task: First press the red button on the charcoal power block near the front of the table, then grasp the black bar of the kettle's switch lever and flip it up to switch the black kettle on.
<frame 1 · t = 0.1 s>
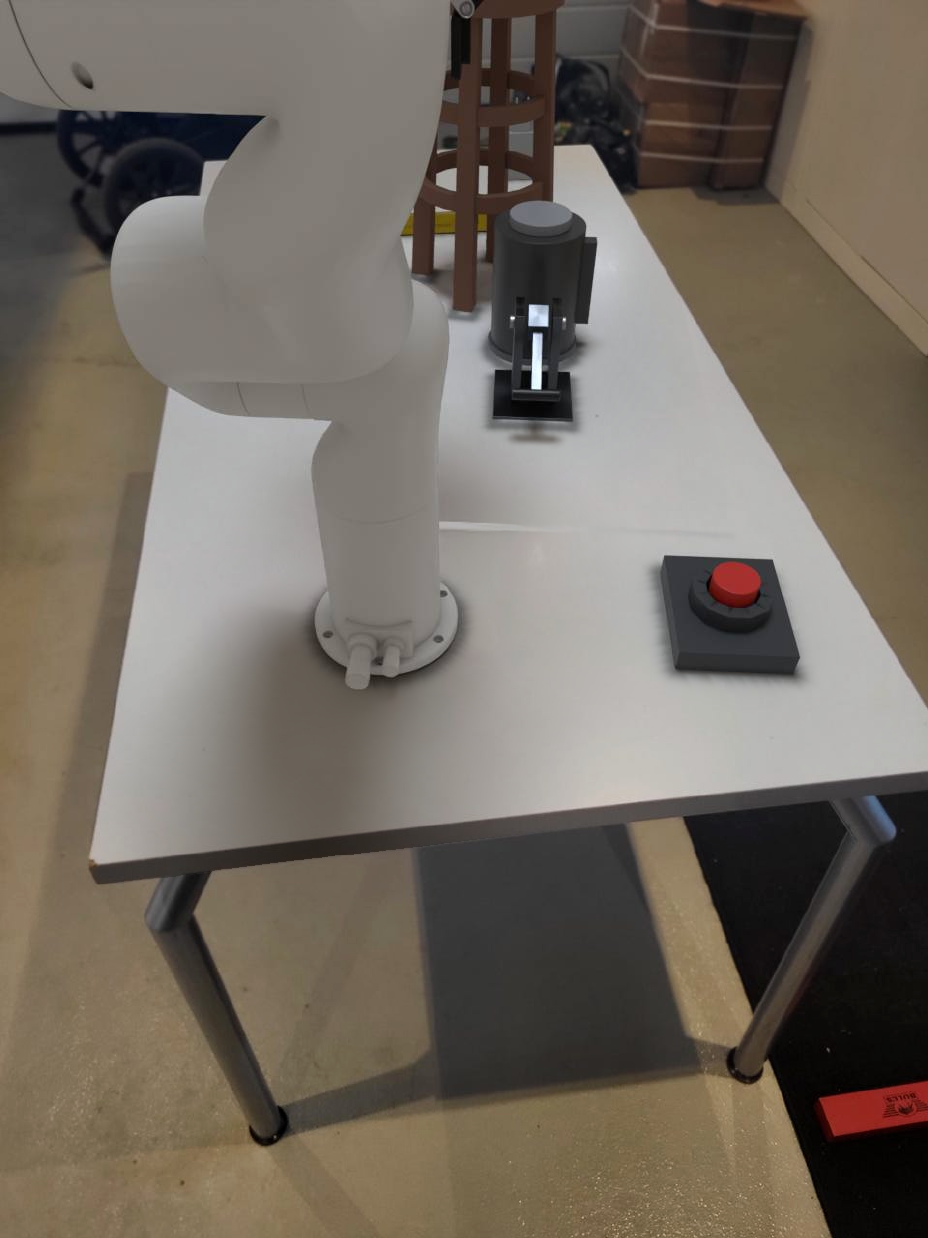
hand: (394, 72, 68), 37 cm above the table, tool pointing down, fingers open, 9 cm apart
power button: (734, 584, 76), point 4 cm above the table, slide at 0.1 cm
spirit level: (379, 236, 134), on the table
switch bracket: (531, 402, 103), on the table
power block: (723, 620, 79), on the table
kettle switch: (537, 354, 94), point 8 cm above the table, hinge at -25.0°
kettle: (531, 349, 111), on the table
stool: (480, 285, 123), on the table
electric trimmer: (340, 378, 106), on the table
power adapter: (518, 176, 150), on the table
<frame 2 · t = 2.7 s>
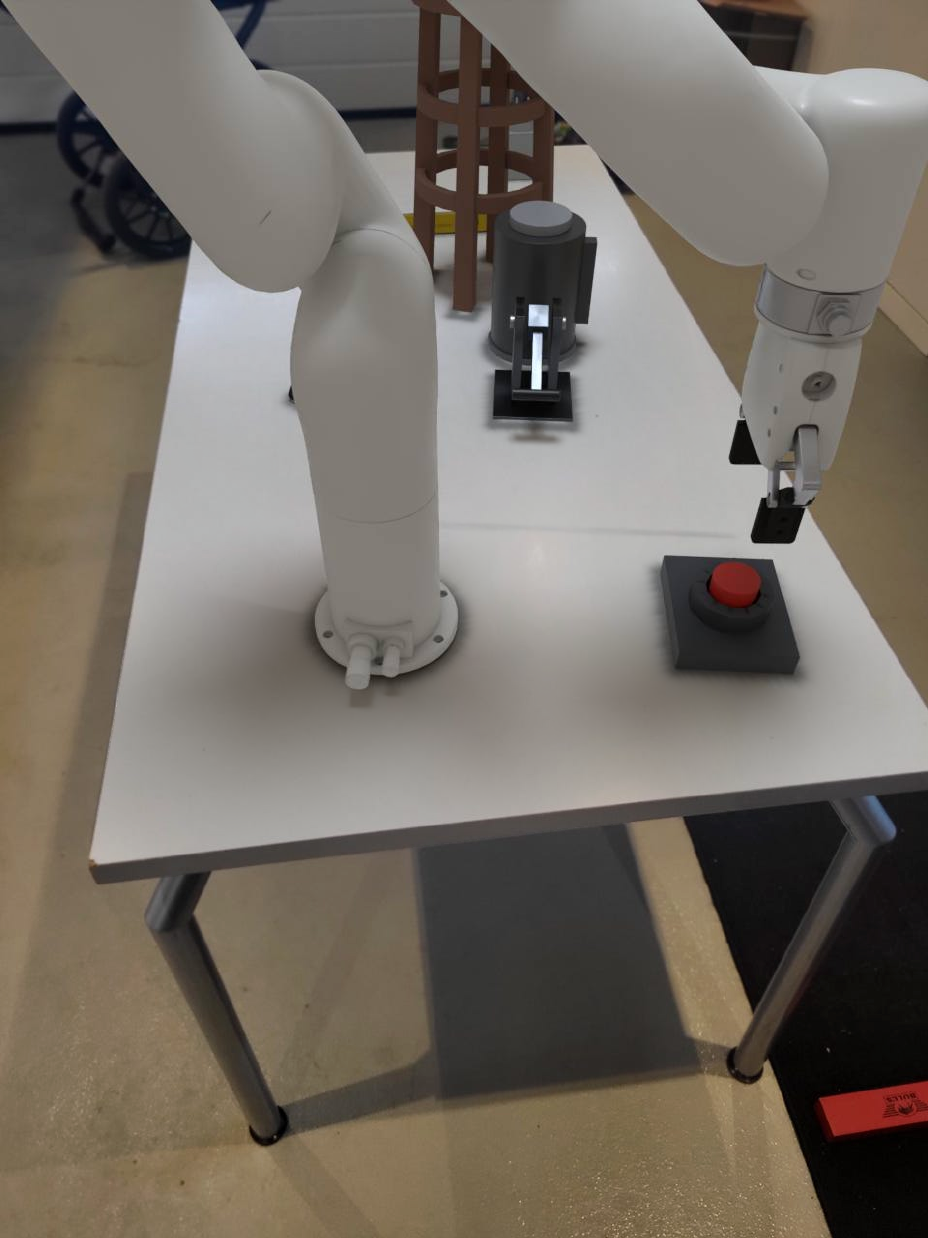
hand: (758, 500, 70), 13 cm above the table, tool pointing down, fingers open, 9 cm apart
nothing on the table moved.
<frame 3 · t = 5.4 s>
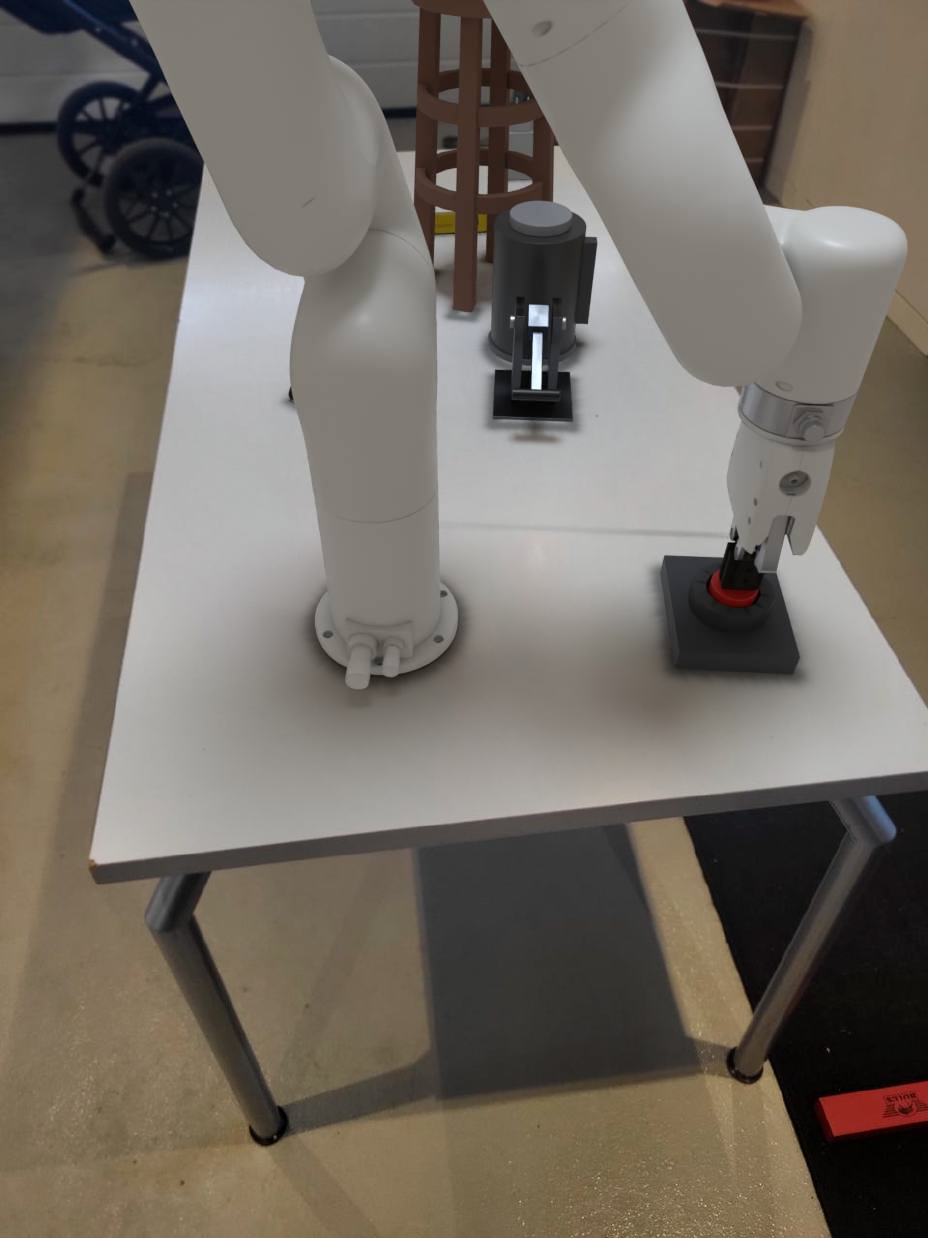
hand: (738, 583, 76), 5 cm above the table, tool pointing down, fingers closed
power button: (732, 590, 76), point 4 cm above the table, slide at -0.6 cm, touching gripper
everything else where it was.
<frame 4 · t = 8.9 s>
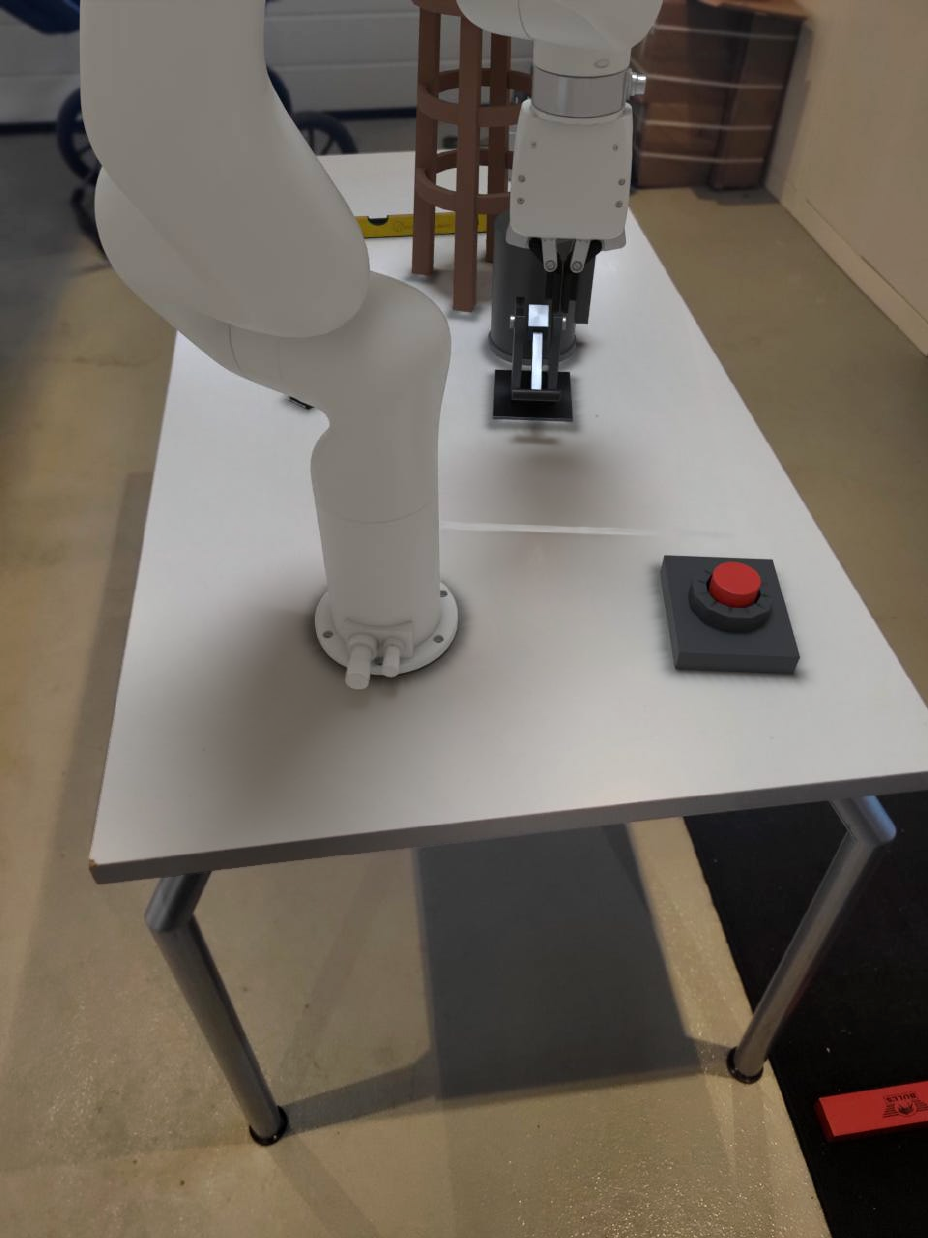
hand: (559, 305, 84), 17 cm above the table, tool pointing down, fingers closed
power button: (734, 584, 76), point 4 cm above the table, slide at 0.1 cm
everything else where it was.
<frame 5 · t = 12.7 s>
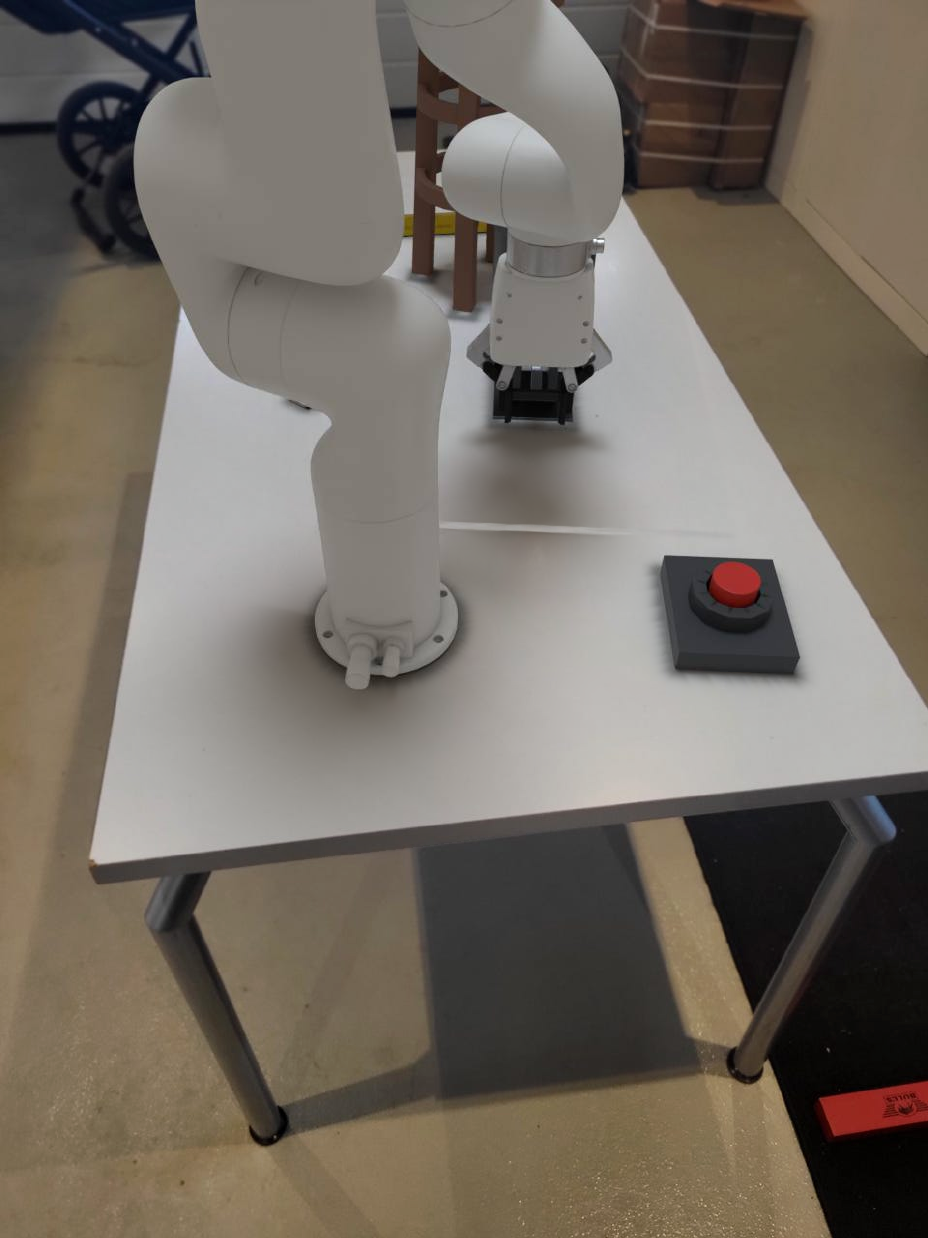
hand: (534, 415, 95), 4 cm above the table, tool pointing down, fingers closed on kettle switch, 5 cm apart
kettle switch: (537, 354, 94), point 8 cm above the table, hinge at -25.0°, touching gripper
everything else where it was.
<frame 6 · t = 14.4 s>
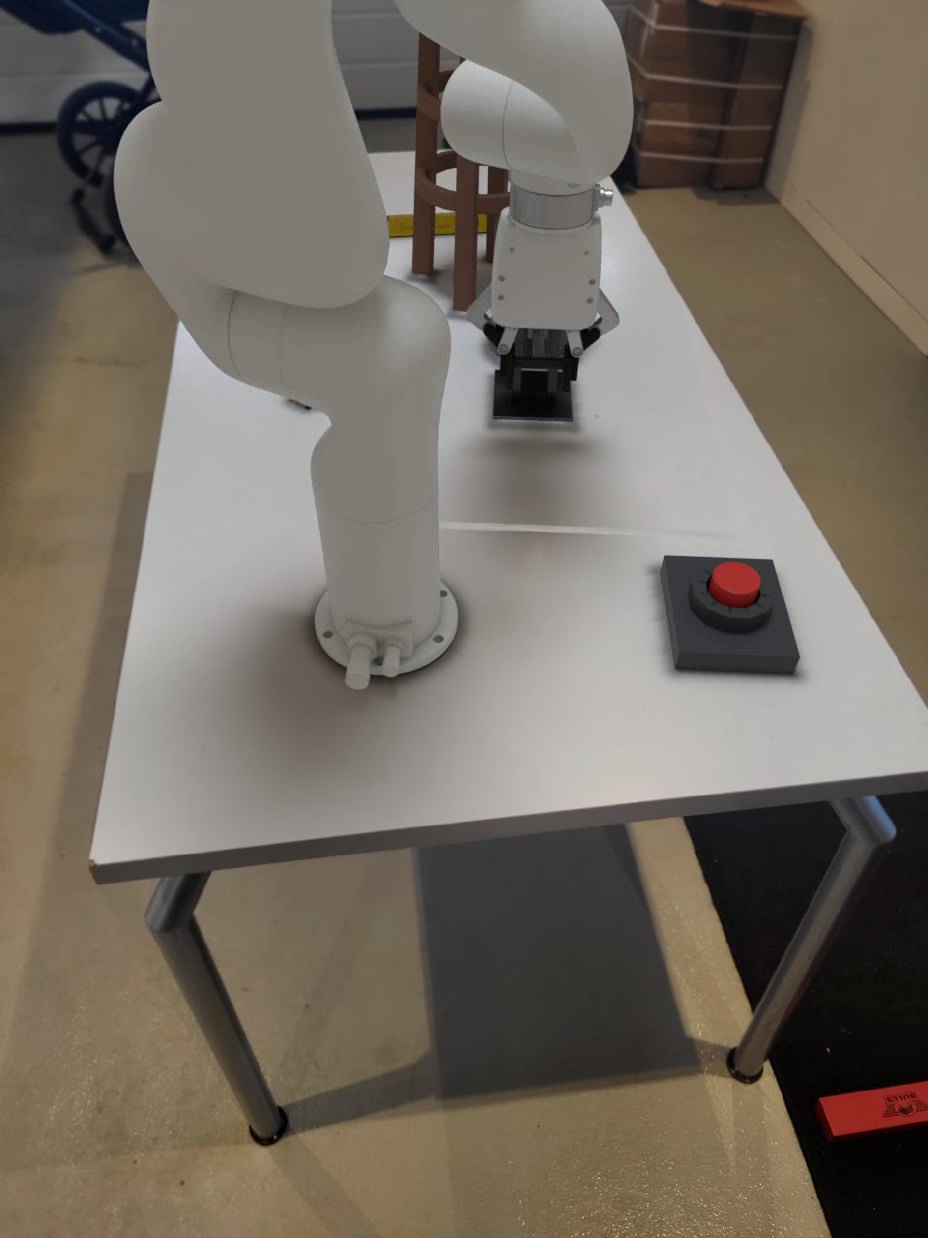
hand: (537, 382, 91), 8 cm above the table, tool pointing down, fingers closed on kettle switch, 5 cm apart
kettle switch: (538, 340, 93), point 10 cm above the table, hinge at 2.7°, touching gripper
everything else where it was.
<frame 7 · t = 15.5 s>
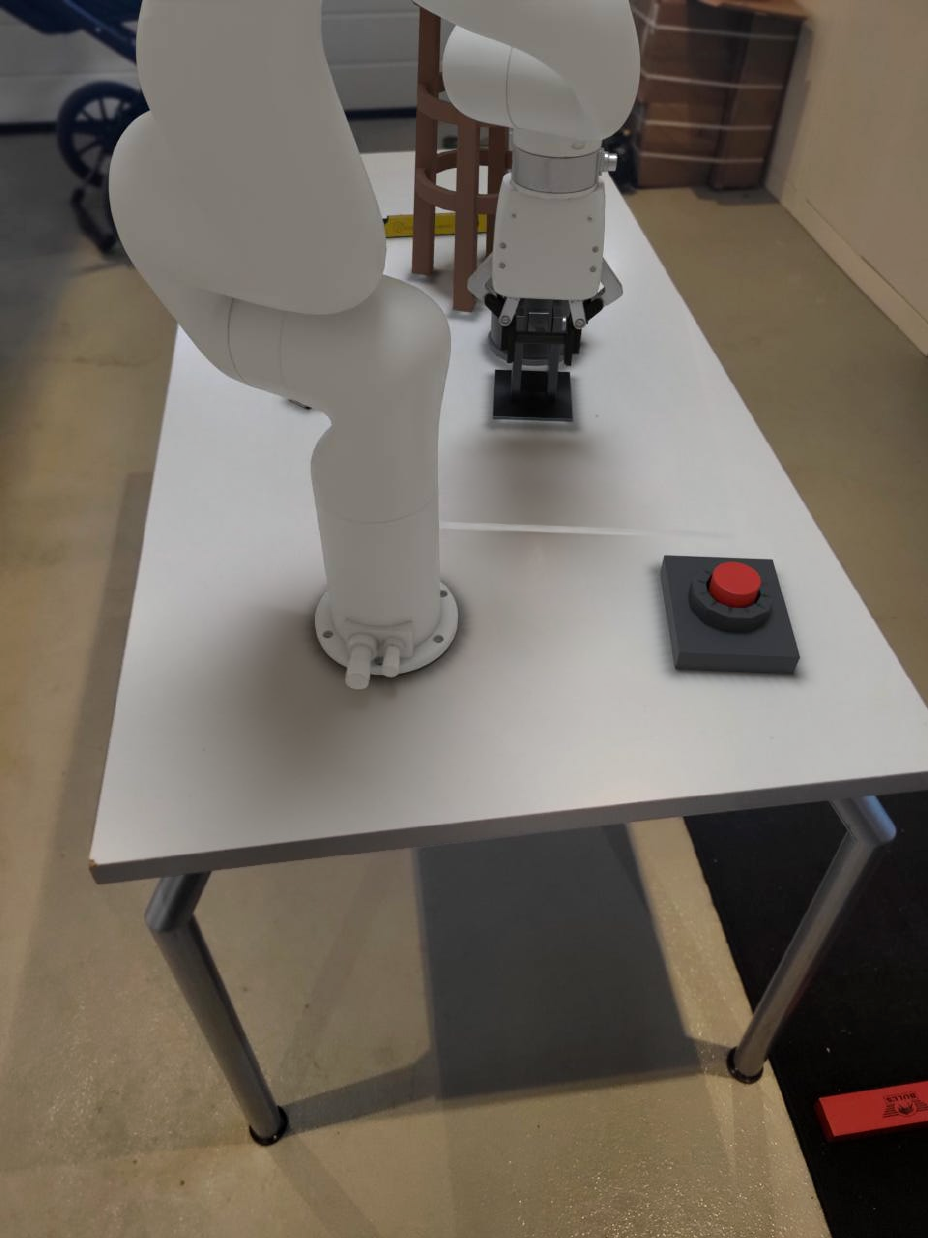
hand: (538, 356, 89), 11 cm above the table, tool pointing down, fingers closed on kettle switch, 5 cm apart
kettle switch: (539, 328, 92), point 11 cm above the table, hinge at 19.0°, touching gripper
everything else where it was.
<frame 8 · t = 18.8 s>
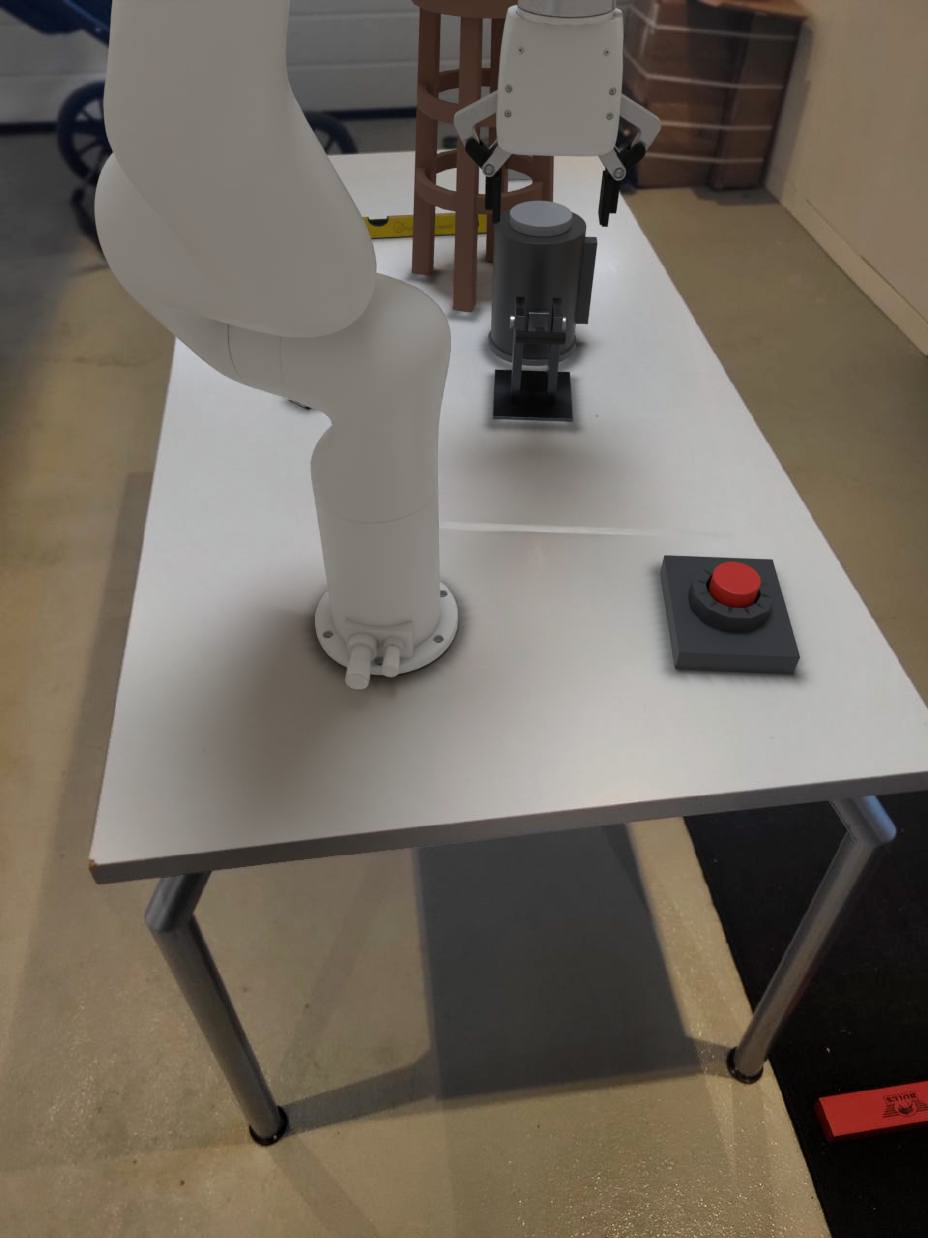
hand: (549, 219, 80), 24 cm above the table, tool pointing down, fingers open, 9 cm apart
kettle switch: (539, 329, 92), point 11 cm above the table, hinge at 18.9°
everything else where it was.
at the end: power button pushed in 1.1 cm at the most during the clip, back to where it started at the end; power button slide at 0.1 cm; kettle switch at +19° (first picture: -25°) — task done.
